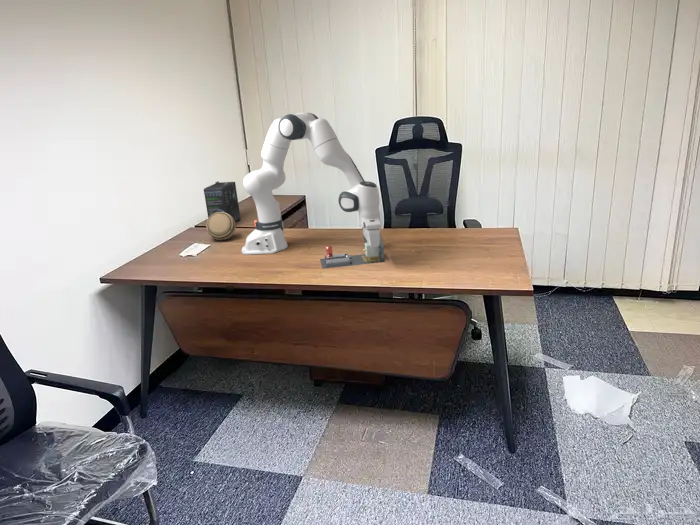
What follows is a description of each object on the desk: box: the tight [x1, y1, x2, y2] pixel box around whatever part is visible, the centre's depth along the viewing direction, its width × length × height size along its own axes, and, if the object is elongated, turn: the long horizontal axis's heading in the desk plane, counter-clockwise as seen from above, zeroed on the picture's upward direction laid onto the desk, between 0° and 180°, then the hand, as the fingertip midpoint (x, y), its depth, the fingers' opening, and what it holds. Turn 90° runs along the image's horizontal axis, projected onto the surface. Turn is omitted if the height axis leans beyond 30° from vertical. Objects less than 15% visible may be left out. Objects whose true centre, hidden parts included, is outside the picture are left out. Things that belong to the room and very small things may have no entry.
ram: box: [325, 245, 352, 260], centre depth 208 cm, size 11×3×7 cm, turn 98°
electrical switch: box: [362, 232, 384, 246], centre depth 225 cm, size 9×5×9 cm, turn 141°
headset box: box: [203, 181, 241, 224], centre depth 285 cm, size 22×12×26 cm, turn 174°
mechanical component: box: [205, 212, 237, 241], centre depth 256 cm, size 15×15×15 cm
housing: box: [362, 242, 379, 257], centre depth 209 cm, size 6×5×5 cm
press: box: [319, 242, 386, 270], centre depth 209 cm, size 27×13×7 cm, turn 98°
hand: (371, 251), depth 209 cm, fingers closed on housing, 5 cm apart
